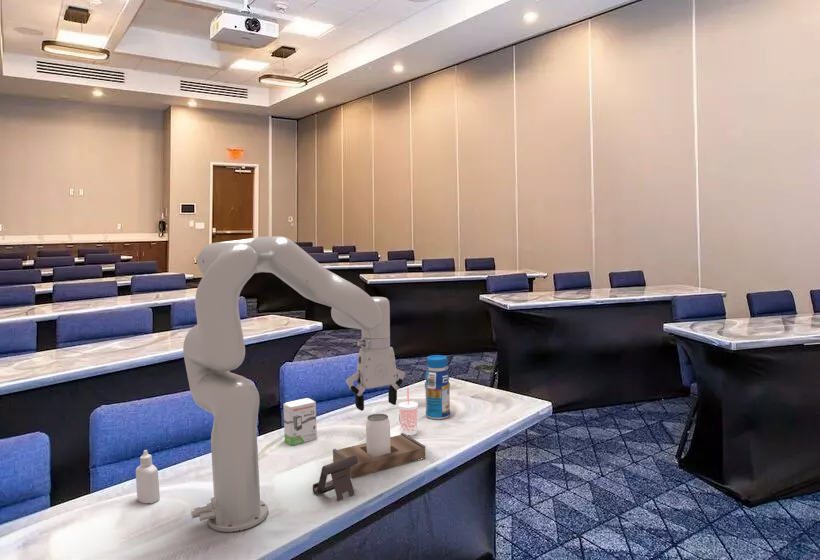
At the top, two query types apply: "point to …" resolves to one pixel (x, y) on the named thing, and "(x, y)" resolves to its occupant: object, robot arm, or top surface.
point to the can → (378, 435)
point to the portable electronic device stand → (337, 477)
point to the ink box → (300, 421)
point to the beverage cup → (408, 416)
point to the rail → (401, 453)
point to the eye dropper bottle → (147, 480)
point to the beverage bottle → (437, 388)
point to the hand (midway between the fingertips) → (376, 406)
